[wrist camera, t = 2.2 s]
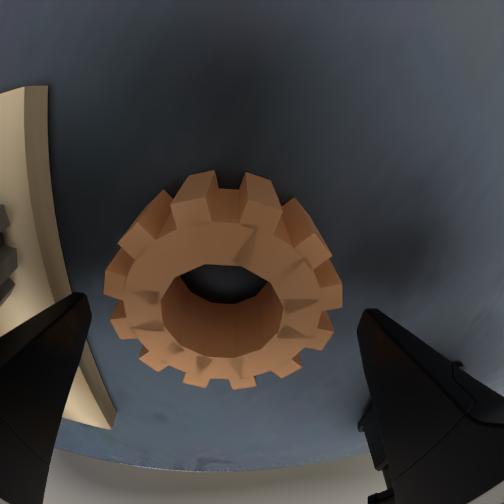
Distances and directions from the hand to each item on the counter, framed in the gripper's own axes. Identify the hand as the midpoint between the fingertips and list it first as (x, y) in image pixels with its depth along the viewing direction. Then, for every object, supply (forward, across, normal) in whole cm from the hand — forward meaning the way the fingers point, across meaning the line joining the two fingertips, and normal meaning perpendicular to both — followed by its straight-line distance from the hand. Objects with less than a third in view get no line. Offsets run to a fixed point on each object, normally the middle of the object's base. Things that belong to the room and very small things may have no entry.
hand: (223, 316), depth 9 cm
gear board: (+3, +12, +2) cm, 13 cm away
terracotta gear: (+3, 0, 0) cm, 3 cm away
